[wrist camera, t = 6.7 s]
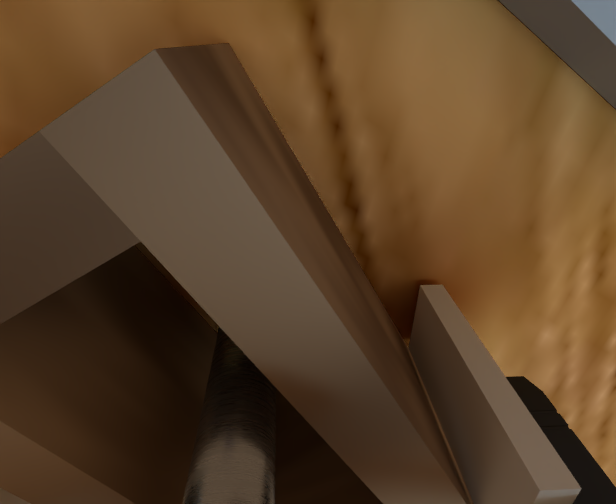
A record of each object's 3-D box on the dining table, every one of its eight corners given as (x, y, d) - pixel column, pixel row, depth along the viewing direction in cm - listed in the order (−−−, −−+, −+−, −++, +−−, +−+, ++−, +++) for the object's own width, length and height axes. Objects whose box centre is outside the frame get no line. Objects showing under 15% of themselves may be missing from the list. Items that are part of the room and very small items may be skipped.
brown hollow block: (14, 189, 10) (-268, 348, 5) (228, 42, 9) (155, 49, 4) (258, 423, 16) (248, 616, 10) (413, 356, 14) (490, 538, 9)
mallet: (172, 334, 13) (-26, 886, 4) (254, 192, 11) (159, 789, 2) (250, 363, 14) (206, 866, 5) (341, 239, 12) (511, 780, 3)
